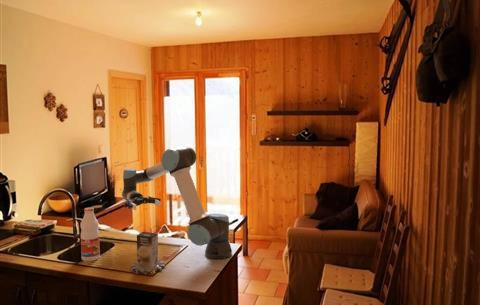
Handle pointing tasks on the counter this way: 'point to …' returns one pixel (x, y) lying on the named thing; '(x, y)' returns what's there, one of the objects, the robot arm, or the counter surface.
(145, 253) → the coffee box
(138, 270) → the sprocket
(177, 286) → the counter surface
